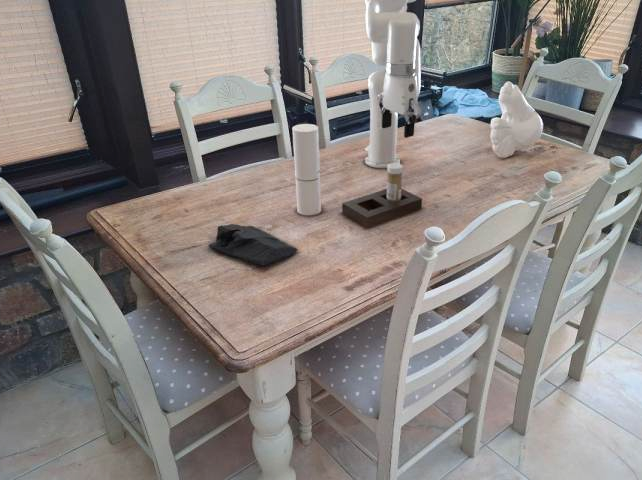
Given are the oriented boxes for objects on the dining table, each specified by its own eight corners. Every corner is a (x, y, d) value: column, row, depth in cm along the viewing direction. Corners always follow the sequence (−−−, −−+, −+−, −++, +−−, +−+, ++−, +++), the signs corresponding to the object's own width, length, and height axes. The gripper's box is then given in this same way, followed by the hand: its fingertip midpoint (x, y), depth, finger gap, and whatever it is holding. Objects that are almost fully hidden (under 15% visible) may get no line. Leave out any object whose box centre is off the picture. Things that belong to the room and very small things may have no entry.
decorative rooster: (521, 121, 214) (495, 73, 198) (555, 123, 201) (530, 73, 186) (486, 170, 211) (457, 125, 196) (518, 175, 199) (489, 128, 183)
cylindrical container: (324, 207, 164) (322, 125, 150) (315, 216, 159) (312, 133, 145) (303, 203, 166) (298, 122, 152) (293, 213, 161) (288, 130, 147)
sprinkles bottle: (403, 208, 164) (406, 166, 156) (391, 211, 161) (393, 169, 154) (394, 202, 167) (396, 161, 159) (382, 206, 165) (384, 164, 157)
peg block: (342, 213, 161) (342, 203, 159) (395, 196, 171) (395, 185, 169) (367, 228, 153) (367, 217, 151) (421, 209, 163) (422, 198, 161)
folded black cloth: (258, 275, 132) (257, 259, 129) (204, 247, 144) (201, 231, 141) (303, 252, 142) (302, 236, 139) (248, 226, 154) (246, 211, 151)
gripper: (433, 73, 140) (427, 137, 150) (390, 61, 152) (387, 121, 161) (411, 77, 137) (407, 143, 146) (369, 64, 148) (368, 126, 158)
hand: (397, 131), depth 154 cm, fingers open, 9 cm apart
